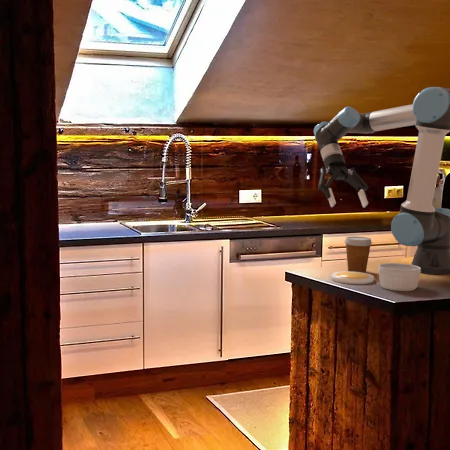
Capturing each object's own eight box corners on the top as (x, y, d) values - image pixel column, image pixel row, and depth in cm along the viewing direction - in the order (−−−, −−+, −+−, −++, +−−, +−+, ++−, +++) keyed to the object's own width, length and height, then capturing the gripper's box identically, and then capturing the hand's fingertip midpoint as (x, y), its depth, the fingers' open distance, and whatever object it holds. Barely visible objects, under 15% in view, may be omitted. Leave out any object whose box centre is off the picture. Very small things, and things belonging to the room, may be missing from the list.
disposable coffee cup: (349, 274, 243) (350, 240, 241) (339, 269, 252) (340, 236, 251) (374, 273, 245) (376, 240, 243) (364, 268, 254) (365, 236, 253)
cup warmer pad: (352, 274, 243) (352, 269, 243) (382, 281, 232) (382, 276, 232) (322, 278, 236) (322, 273, 235) (351, 285, 224) (352, 281, 224)
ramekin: (395, 281, 232) (396, 261, 232) (428, 289, 222) (429, 267, 221) (368, 286, 225) (369, 265, 224) (401, 294, 214) (402, 271, 213)
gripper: (356, 165, 270) (373, 211, 260) (299, 163, 261) (315, 210, 250) (366, 153, 264) (383, 200, 254) (308, 150, 255) (324, 198, 244)
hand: (349, 205), depth 252 cm, fingers open, 13 cm apart
